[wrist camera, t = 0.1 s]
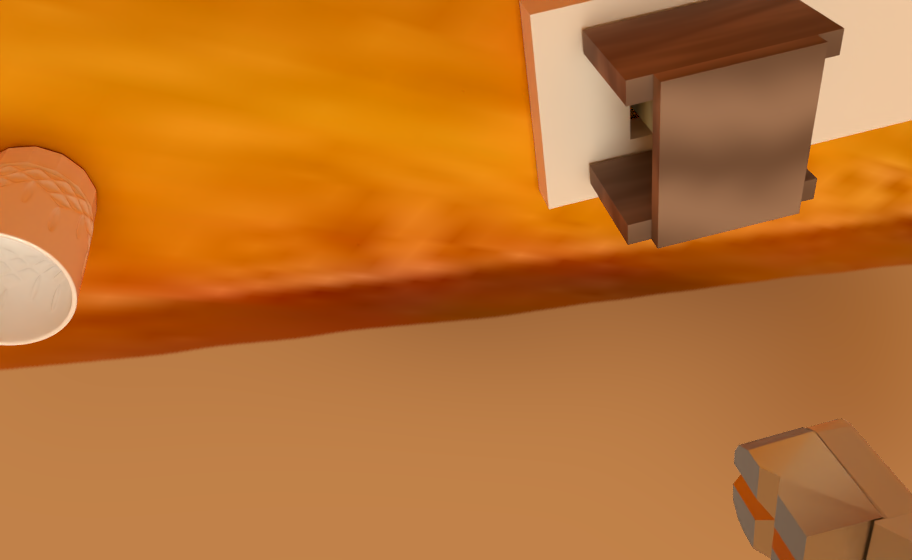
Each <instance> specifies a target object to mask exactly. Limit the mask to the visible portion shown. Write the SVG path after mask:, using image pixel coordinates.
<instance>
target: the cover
mask: <svg viewBox="0 0 912 560" xmlns="http://www.w3.org/2000/svg"><path fill="white" fill-rule="evenodd" d="M582 31H583V51H584V55H585V56H586V57H587V59H588V60H589V61H590V62H591V63H592V65H593V66H594V67H595V68H596V70H597V71H598V72H599V73H600V75H601V76H602V77H603V78H604V80H605V81H606V82H607V83H608V85H609V86H610V87H611V88H612V90H613V91H614V92H615V93H616V95H617V96H618V97H619V98H620V100H621V101H622V102H623V103H624V105H625V106H630V105H634V104H639V103H643V102H647V101H651V100H653V146H652V150H649V151H645V152H641V153H637V154H633V155H629V156H625V157H621V158H617V159H613V160H608V161H604V162H600V163H596V164H592V165H589V166H590V184H591V185H592V187H593V189H594V190H595V192H596V193H597V195H598V197H599V198H600V200H601V202H602V203H603V205H604V206H605V208H606V210H607V211H608V213H609V215H610V216H611V218H612V219H613V221H614V223H615V224H616V226H617V228H618V229H619V231H620V232H621V234H622V236H623V237H624V239H625V241H626V242H627V244H628V245H629V244H633V243H637V242H641V241H645V240H649V239H652V241H653V242H654V244H655V245H656V247H657V248H661V247H665V246H669V245H673V244H677V243H681V242H686V241H690V240H694V239H698V238H702V237H706V236H710V235H714V234H718V233H722V232H726V231H730V230H734V229H738V228H742V227H746V226H750V225H754V224H758V223H762V222H766V221H770V220H774V219H778V218H782V217H786V216H790V215H794V214H798V213H799V210H800V204H801V202H802V201H806V200H810V199H813V198H814V193H815V187H816V182H817V178H816V177H815V176H814V175H813V174H812V173H811V172H810V171H809V170H807V163H808V157H809V151H810V146H811V140H812V134H813V128H814V122H815V116H816V110H817V104H818V99H819V93H820V87H821V81H822V75H823V69H824V63H825V58H829V57H834V56H838V55H840V50H841V45H842V39H843V34H844V28H843V27H842V26H840V25H838V24H837V23H835V22H834V21H832V20H831V19H829V18H827V17H826V16H824V15H823V14H821V13H819V12H818V11H816V10H815V9H813V8H812V7H810V6H808V5H807V4H805V3H804V2H802V1H800V0H707V1H703V2H699V3H694V4H690V5H686V6H682V7H678V8H673V9H669V10H665V11H661V12H656V13H652V14H648V15H644V16H639V17H635V18H631V19H627V20H623V21H618V22H614V23H610V24H606V25H601V26H597V27H593V28H589V29H584V30H582Z"/></svg>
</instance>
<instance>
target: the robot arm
mask: <svg viewBox="0 0 912 560" xmlns="http://www.w3.org/2000/svg"><path fill="white" fill-rule="evenodd" d="M734 459H735V460H734V464H735V465H736V467H737V469H738V470H739V472H740V473H741V475H740V476H739V477H738V479H737V480H736V481H735V482H734V484H733V501H734V505H735V509H736V513H737V517H738V520H739V522H740V524H741V527H742V529H743V531H744V533H745V535H746V537H747V539H748V540H749V542H750V544H751V545H752V547H753V548H754V549H755V550H757V551H759V552H760V553H762V554H764V555H766V556H767V557H769V558H771V560H912V493H910V491H909V490H908V489H907V488H906V487H905V485H904V484H903V483H902V482H901V481H900V480H899V479H898V477H897V476H896V475H895V474H894V473H893V472H892V471H891V469H890V468H889V467H888V466H887V465H886V464H885V463H884V461H883V460H882V459H881V458H880V457H879V456H878V455H877V454H876V452H875V451H874V450H873V449H872V448H871V447H870V445H869V444H868V443H867V442H866V441H865V440H864V438H863V437H862V436H861V435H860V434H859V433H858V432H857V430H856V429H855V428H854V427H853V426H852V425H851V424H850V423H849V422H847V421H846V420H843V419H842V418H841V419H836V420H832V421H829V422H825V423H821V424H817V425H814V426H810V427H807V428H803V427H802V428H799V429H795V430H791V431H788V432H784V433H781V434H777V435H773V436H770V437H766V438H763V439H759V440H755V441H752V442H748V443H745V444H741V445H739V446H738V447H737V449H736V450H735V458H734Z"/></svg>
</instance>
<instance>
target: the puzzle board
mask: <svg viewBox="0 0 912 560" xmlns="http://www.w3.org/2000/svg"><path fill="white" fill-rule="evenodd" d="M703 1H707V0H520V1H519V3H520V13H521V22H522V31H523V41H524V50H525V60H526V69H527V79H528V88H529V97H530V107H531V116H532V126H533V135H534V145H535V154H536V164H537V173H538V182H539V191H540V193H541V194H542V196H543V198H544V200H545V202H546V204H547V206H548V208H549V209H551V208H555V207H559V206H563V205H567V204H571V203H576V202H580V201H584V200H588V199H592V198H596V197H598V195H597V193H596V192H595V190H594V189H593V187H592V185H591V184H590V166H589V165H592V164H596V163H600V162H604V161H608V160H613V159H617V158H621V157H625V156H629V155H633V154H637V153H641V152H645V151H649V150H652V146H653V133H652V132H651V130H650V129H649V128H648V127H647V125H646V124H645V123H644V122H643V121H642V119H641V118H640V117H639V118H635V119H630V106H625V105H624V103H623V102H622V101H621V100H620V98H619V97H618V96H617V95H616V93H615V92H614V91H613V90H612V88H611V87H610V86H609V85H608V83H607V82H606V81H605V80H604V78H603V77H602V76H601V75H600V73H599V72H598V71H597V70H596V68H595V67H594V66H593V65H592V63H591V62H590V61H589V60H588V59H587V57H586V56H585V55H584V51H583V31H582V30H584V29H589V28H593V27H597V26H601V25H606V24H610V23H614V22H618V21H623V20H627V19H631V18H635V17H639V16H644V15H648V14H652V13H656V12H661V11H665V10H669V9H673V8H678V7H682V6H686V5H690V4H694V3H699V2H703ZM800 1H802V2H804V3H805V4H807V5H808V6H810V7H812V8H813V9H815V10H816V11H818V12H819V13H821V14H823V15H824V16H826V17H827V18H829V19H831V20H832V21H834V22H835V23H837V24H838V25H840V26H842V27H843V28H844V34H843V39H842V45H841V50H840V55H838V56H834V57H829V58H825V63H824V69H823V75H822V81H821V87H820V93H819V99H818V104H817V110H816V116H815V122H814V128H813V134H812V140H811V145H812V144H816V143H820V142H824V141H828V140H832V139H836V138H840V137H844V136H848V135H852V134H856V133H861V132H865V131H869V130H873V129H877V128H881V127H885V126H889V125H893V124H897V123H901V122H905V121H909V120H912V0H800Z"/></svg>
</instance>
